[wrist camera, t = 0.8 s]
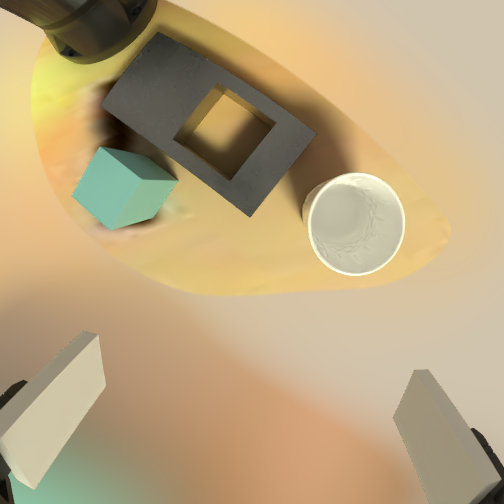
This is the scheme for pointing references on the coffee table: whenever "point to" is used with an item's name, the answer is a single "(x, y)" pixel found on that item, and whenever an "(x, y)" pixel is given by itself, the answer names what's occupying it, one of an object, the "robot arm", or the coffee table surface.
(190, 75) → the grey slotted board
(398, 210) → the white cup
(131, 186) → the teal block
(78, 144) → the coffee table surface
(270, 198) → the coffee table surface
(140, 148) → the coffee table surface
